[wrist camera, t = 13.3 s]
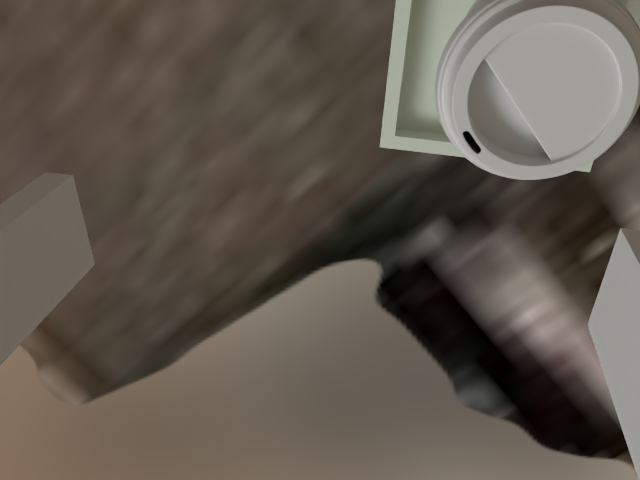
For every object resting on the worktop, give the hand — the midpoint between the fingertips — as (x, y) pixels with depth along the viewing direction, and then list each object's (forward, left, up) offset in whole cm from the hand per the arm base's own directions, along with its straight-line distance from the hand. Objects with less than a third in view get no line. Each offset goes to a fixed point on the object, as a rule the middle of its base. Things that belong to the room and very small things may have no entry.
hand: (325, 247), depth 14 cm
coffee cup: (0, +7, -30) cm, 31 cm away
